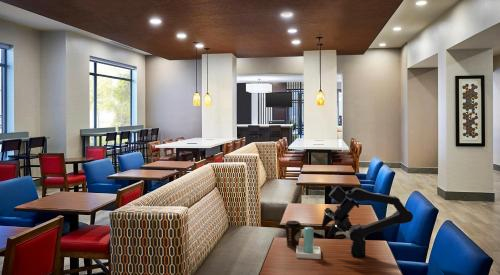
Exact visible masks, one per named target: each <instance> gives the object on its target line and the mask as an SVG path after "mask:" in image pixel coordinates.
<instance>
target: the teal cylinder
mask: <svg viewBox="0 0 500 275" xmlns="http://www.w3.org/2000/svg"><path fill="white" fill-rule="evenodd" d="M314 229H315V228H314V227H311V226H305V227H303V246H304V252H305V253H313V246H314Z"/></svg>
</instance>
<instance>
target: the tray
mask: <svg viewBox="0 0 500 275" xmlns="http://www.w3.org/2000/svg"><path fill="white" fill-rule="evenodd" d="M295 248H296V250H295V251H296V252H295V258H297V259H314V260H316V259H317V260H321V257H322V254H321V247H320V246H314V245H313V253H305V252H304V245H299V246H297V247H295Z"/></svg>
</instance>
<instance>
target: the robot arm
mask: <svg viewBox="0 0 500 275" xmlns="http://www.w3.org/2000/svg"><path fill="white" fill-rule="evenodd" d="M328 196H329V197H330V198H331V199H332V200H334V201H335V202H336V203H337V204H339V203H340V205H336V209H335V210H332V209H331V208H330V207H326V208H325V209H324V210H323V211H324V213H323V219H322V223H321V225H320V226H321V227H320V228H321V229H324V228H326V226H327V225H329V224H330V223H331V222H333V223H332V224H331V226H330V228H329V231H328V232H327V234H326V236H327V238H330V237H331V236H333V235H335V234H337V233H340V232H341V233H346V232H347V230H348V229H349V230H348V234H347V235H348V236H349V239H350V240H351V241H352V242H351V245H350V255H352V257H353V258H367V256H366V244H367V242H366V239H365V238H366V237H367V236H368V235H370V234H372V233H375V232H377V231H380V230H383V229H386V228H388V227H392V226H394V225H399V224H400V225H402V224H407V223H411V222H412V221H413V218H414V215H413V212H411V211H410V210H409V209H408V208H406V207H405V205H404V203H402V202H401V200H400V198H399V197H398V196H396V195H395V196H393V195H387V194H381V193H375V192H371V191H368V190H365V189H364V188H360V187H353V188H352V189H351V190H347V191H344V189H342V188H341V187H340V186H339V185H336V187H335V188H333V189H331V191H330V192H329V194H328ZM366 201H369V202H370V201H371V202H376V203H382V204H387V205H391V206H394V208H395V210H396V211H395V212H394V213H392V214H391V215H389V216H386V217H384V218H382V219H379V220H376V221H373V222H371V223H368V224H366V225H361V224H360V223H357V224H356V225H353V224H352V222H351V220H350V218H349V217H350V215H349V214H350V212H351V211H352V210H353V209H354V207H356V208H358V209H359V208H360V202H366Z"/></svg>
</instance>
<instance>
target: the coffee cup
mask: <svg viewBox="0 0 500 275" xmlns="http://www.w3.org/2000/svg"><path fill="white" fill-rule="evenodd" d="M284 227H285V236H286V239H285V240H286V247H288V248H296V247H297V246H300V244H299V243H300V240H301V239H300V238H301V227H302V225H301V223H300V221H298V220H287V221H286V223H285V225H284Z"/></svg>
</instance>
